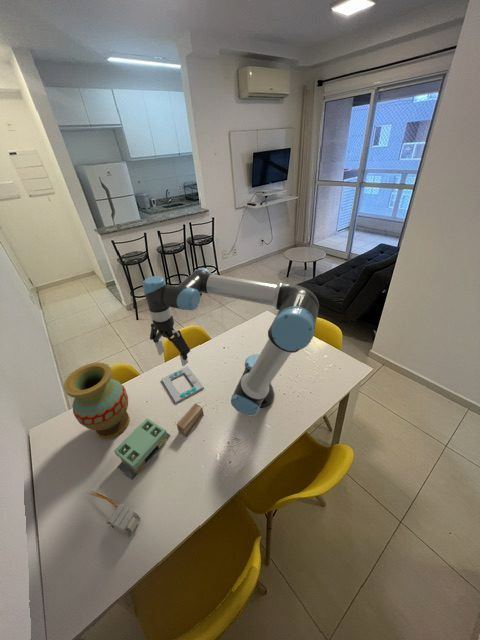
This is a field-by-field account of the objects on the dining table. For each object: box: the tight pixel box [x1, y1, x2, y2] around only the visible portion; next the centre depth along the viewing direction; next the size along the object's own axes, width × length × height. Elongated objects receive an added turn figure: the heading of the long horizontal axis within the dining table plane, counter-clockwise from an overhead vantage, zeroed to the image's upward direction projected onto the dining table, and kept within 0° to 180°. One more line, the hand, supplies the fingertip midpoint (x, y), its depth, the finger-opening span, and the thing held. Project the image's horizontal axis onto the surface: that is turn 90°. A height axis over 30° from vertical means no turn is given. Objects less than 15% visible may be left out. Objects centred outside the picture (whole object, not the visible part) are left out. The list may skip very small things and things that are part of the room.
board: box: [113, 417, 168, 470], centre depth 99 cm, size 11×16×2 cm
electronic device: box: [161, 365, 205, 404], centre depth 131 cm, size 18×2×15 cm
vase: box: [63, 361, 130, 440], centre depth 106 cm, size 20×20×30 cm
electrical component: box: [86, 490, 142, 539], centre depth 86 cm, size 24×6×5 cm, turn 67°
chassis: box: [116, 425, 171, 481], centre depth 101 cm, size 9×20×8 cm, turn 148°
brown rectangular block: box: [176, 403, 204, 438], centre depth 111 cm, size 4×12×6 cm, turn 148°
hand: (173, 358), depth 108 cm, fingers open, 13 cm apart
